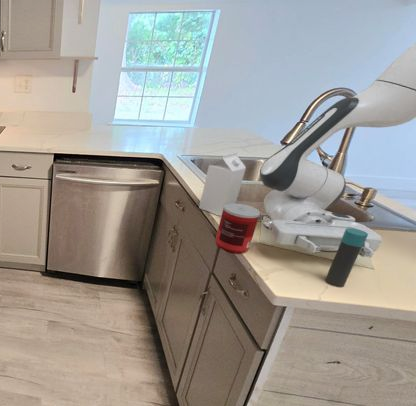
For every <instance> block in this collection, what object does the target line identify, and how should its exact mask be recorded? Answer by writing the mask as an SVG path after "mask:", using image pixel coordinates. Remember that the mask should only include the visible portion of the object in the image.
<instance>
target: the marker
mask: <svg viewBox="0 0 416 406" xmlns="http://www.w3.org/2000/svg"><path fill="white" fill-rule="evenodd" d="M367 236H368V234H367V233H366V232H364V231H362V230H358V229H353V228H347V229H346V230H345V232H344V234H343V237H342V239H341V243H340V246H339V248H338V250H337V253H336V255H335V257H334V260H332V262H331V264H330V267H329V270H328V272H327V273H326V276H325V279H324V281H325V282H326V283H327V284H328V285H330V286H332V287H337V288H343V287H345V285H346V283H347V280H348V278H349V276H350V274H351V272H352V269H353V268H354V266H355V265H354V263H355V261H356V259H357V256H358V254H359V252H360V250H361V247H362V246H363V245H364V242H365V240H366V238H367Z"/></svg>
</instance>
